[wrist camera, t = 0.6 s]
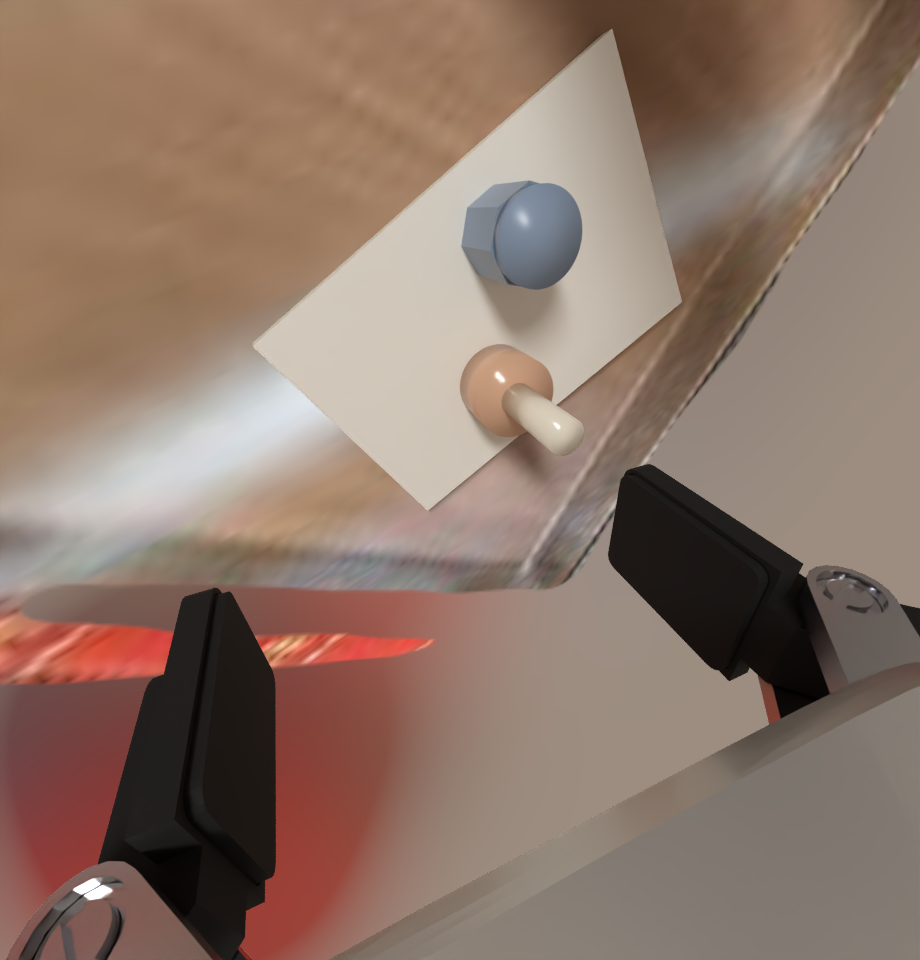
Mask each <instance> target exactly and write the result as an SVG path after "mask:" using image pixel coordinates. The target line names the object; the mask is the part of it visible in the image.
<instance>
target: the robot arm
mask: <svg viewBox="0 0 920 960" xmlns="http://www.w3.org/2000/svg"><path fill="white" fill-rule="evenodd" d="M608 557H609V561H610V563H611V565H612V566H613V567H614V569H615V570H616V571H617V572H618V573H619V574H620V575H621V576H622V577H623V578H624V579H625V580H626V581H627V582H628V583H629V584H630V585H631V586H632V587H633V588H634V589H635V590H636V591H637V592H638V593H639V594H640V595H641V596H642V598H643V599H644V600H645V601H646V602H647V603H648V604H649V605H650V606H651V607H652V608H653V609H654V610H655V611H656V612H657V613H658V614H659V615H660V616H661V617H662V618H663V619H664V620H665V621H666V622H667V623H668V624H669V625H670V627H671V628H673V630H674V631H675V632H676V633H677V634H678V635H679V636H680V637H681V638H682V639H683V640H684V641H685V642H686V643H687V644H688V645H689V646H690V647H691V648H692V649H693V650H694V651H695V652H696V653H697V654H698V655H699V657H701V659H702V660H703V661H704V662H705V663H706V664H707V665H708V666H710V667H711V668H713V669H715V670H719V671H720V672H721V673H722V674H723V675H724V676H725V677H726V678H727V680H729V681H730V680H732V679H734V678H737V677H739V676H741V675H743V674H745V673H747V672H748V670H749V668H751V669H752V670H753V671H754V672H755V673H757V674H758V678H759V682H760V686H761V691H762V694H763V700H764V704H765V708H766V713H767V717H768V721H769V725H768V726H766V727H764V728H762V729H760V730H758V731H756V732H755V733H753V734H751V735H749V736H747V737H745V738H743V739H741V740H739V741H738V742H735V743H734V744H731V745H730V746H728V747H726V748H724V749H722V750H720V751H718V752H716V753H714V754H712V755H710V756H708V757H706V758H704V759H703V760H701V761H699V762H697V763H695V764H693V765H691V766H689V767H687V768H685V769H684V770H682V771H680V772H678V773H676V774H674V775H672V776H670V777H668V778H666V779H664V780H663V781H661V782H659V783H657V784H655V785H653V786H652V787H649V788H647V789H645V790H644V791H642V792H640V793H638V794H636V795H634V796H632V797H630V798H628V799H627V800H625V801H623V802H621V803H619V804H617V805H615V806H613V807H611V808H609V809H607V810H605V811H604V812H602V813H600V814H598V815H596V816H594V817H592V818H590V819H588V820H587V821H585V822H583V823H581V824H579V825H577V826H575V827H573V828H571V829H569V830H567V831H566V832H564V833H562V834H560V835H558V836H556V837H554V838H552V839H551V840H549V841H547V842H545V843H543V844H541V845H539V846H537V847H536V848H534V849H532V850H530V851H528V852H526V853H524V854H523V855H520V856H519V857H517V858H515V859H513V860H511V861H509V862H507V863H506V864H504V865H502V866H500V867H498V868H496V869H494V870H492V871H491V872H489V873H487V874H485V875H483V876H481V877H479V878H477V879H475V880H473V881H472V882H470V883H468V884H466V885H464V886H462V887H460V888H459V889H457V890H455V891H453V892H451V893H449V894H447V895H446V896H443V897H442V898H440V899H438V900H436V901H434V902H432V903H430V904H428V905H427V906H425V907H423V908H421V909H419V910H418V911H416V912H414V913H413V914H410V915H409V916H407V917H405V918H403V919H402V920H400V921H398V922H396V923H394V924H393V925H391V926H389V927H387V928H385V929H384V930H382V931H380V932H379V933H376V934H375V935H373V936H371V937H369V938H367V939H366V940H364V941H362V942H360V943H358V944H357V945H355V946H353V947H351V948H349V949H348V950H346V951H344V952H342V953H340V954H338V955H337V956H335V957H333V958H332V959H329V960H920V608H915V607H910V606H906V605H902V604H899V603H898V601H897V599H896V598H895V597H894V596H893V595H892V593H891V592H890V591H889V590H888V589H887V588H885V587H884V586H883V585H882V584H880V583H879V582H877V581H876V580H874V579H872V578H870V577H868V576H866V575H864V574H862V573H859V572H857V571H854V570H851V569H847V568H843V567H839V566H828V565H825V566H819V567H815V568H813V569H812V570H810V571H809V573H808V575H807V577H806V578H805V577H804V576H802V575H801V574H799V571H800V569H801V567H802V566H803V563H801V562H800V561H798V560H797V559H795V558H793V557H792V556H791V555H789V554H787V553H786V552H784V551H783V550H781V549H780V548H778V547H777V546H775V545H774V544H772V543H771V542H769V541H768V540H766V539H765V538H763V537H762V536H760V535H758V534H757V533H756V532H754V531H752V530H751V529H749V528H748V527H746V526H745V525H743V524H742V523H740V522H739V521H737V520H736V519H734V518H732V517H731V516H730V515H728V514H726V513H725V512H723V511H722V510H720V509H719V508H717V507H716V506H714V505H713V504H711V503H710V502H708V501H707V500H705V499H704V498H702V497H701V496H699V495H698V494H696V493H695V492H693V491H692V490H690V489H688V488H687V487H685V486H684V485H682V484H681V483H679V482H678V481H676V480H675V479H673V478H672V477H670V476H669V475H667V474H665V473H664V472H663V471H661V470H660V469H658V468H656V467H655V466H653V465H650V464H647V465H643V466H640V467H636V468H633V469H629V470H627V471H626V473H625V475H624V477H623V478H622V479H621V481H620V486H619V492H618V498H617V504H616V510H615V516H614V522H613V529H612V534H611V540H610V546H609V552H608ZM275 761H276V760H275V679H274V674H273V671H272V669H271V667H270V665H269V663H268V661H267V659H266V657H265V655H264V653H263V651H262V650H261V648H260V646H259V644H258V642H257V640H256V638H255V636H254V634H253V632H252V631H251V629H250V627H249V625H248V623H247V621H246V619H245V617H244V615H243V613H242V612H241V610H240V608H239V606H238V604H237V602H236V600H235V598H234V596H233V595H232V593H231V592H226V593H221V591H220V590H219V589H218V588H213V589H209V590H206V591H203V592H199V593H195V594H192V595H189V596H185V597H184V598H183V600H182V602H181V606H180V610H179V614H178V618H177V622H176V627H175V631H174V635H173V639H172V643H171V647H170V651H169V655H168V660H167V664H166V668H165V672H164V675H161V676H158V677H155V678H153V679H152V680H151V681H150V682H149V684H148V686H147V688H146V691H145V693H144V697H143V700H142V704H141V708H140V711H139V715H138V719H137V722H136V726H135V730H134V734H133V737H132V741H131V744H130V748H129V752H128V755H127V759H126V762H125V766H124V770H123V773H122V777H121V781H120V785H119V788H118V792H117V796H116V799H115V803H114V807H113V810H112V814H111V817H110V821H109V825H108V829H107V832H106V836H105V840H104V843H103V847H102V850H101V854H100V858H99V862H98V865H95V866H92V867H89V868H88V869H86V870H84V871H83V872H81V873H79V874H78V875H76V876H75V877H73V878H71V879H70V880H68V881H67V882H66V883H65V884H64V885H63V886H61V887H60V888H59V889H58V890H57V891H56V892H55V893H54V894H52V896H50V897H49V898H48V899H47V900H46V901H45V902H44V903H43V905H42V906H41V907H40V908H39V909H38V911H37V912H36V913H35V914H34V915H33V916H32V918H31V919H30V920H29V921H28V922H27V924H26V925H25V927H24V929H23V930H22V932H21V933H20V935H19V937H18V938H17V940H16V941H15V943H14V944H13V946H12V948H11V949H10V951H9V953H8V956H7V958H6V960H252V959H251V958H250V956H249V955H248V954H247V953H246V952H245V951H244V950H243V949H242V948H241V947H240V944H241V943H242V941H243V939H244V938H245V920H246V919H245V918H246V910H248V909H250V908H252V907H255V906H257V905H259V904H261V903H263V902H265V880H267V879H269V878H271V877H272V876H273V875H274V872H275V863H276V825H275V824H276V811H275V810H276V805H275V804H276V794H275V793H276V788H275V786H276V785H275V784H276V778H275V777H276V776H275V775H276V774H275V771H276V769H275V768H276V767H275V766H276V763H275Z"/></svg>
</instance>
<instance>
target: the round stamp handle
mask: <svg viewBox="0 0 920 960" xmlns="http://www.w3.org/2000/svg"><path fill="white" fill-rule="evenodd" d="M460 394H461V398H462V401H463V403H464V405H465V406H466V408H467V409H468V410H469V411H470V412H471V413H472V414H473V415H474V416H475V417H476V418H477V419H478V420H479V421H480V422H481V423H482V424H483V425H484V426H485V427H486V428H487V429H488V430H489V431H490V432H492V433H493V434H495V435H498V436H501V437H515V436H519V435H522V434H524V433H526V432H529V433H530V434H531V435H532V436H533V437H535V438H536V439H537V440H538V441H539V442H540V443H542V444H543V445H544V446H545V447H546V448H547V449H548V450H550V451H551V452H552V453H553V454H555V455H557V456H564V455H568V454H570V453H571V452H573V451H574V450H575V449H576V448H577V447H578V446H579V445H580V443H581V441H582V439H583V436H584V427H583V425H582V423H581V422H580V421H578V420H577V419H576V418H574V417H573V416H571V415H570V414H568V413H567V412H565V411H564V410H562V409H561V408H560V407H558V406H557V405H555V404H554V403H552V397H553V381H552V377H551V375H550V372H549V371H548V369H547V368H546V367H545V366H544V365H543V364H542V363H541V362H539V361H537V360H535V359H534V358H532V357H530V356H528V355H527V354H525V353H523V352H521V351H519V350H518V349H516V348H514V347H512V346H509V345H505V344H495V345H491V346H488V347H485V348H484V349H482V350H480V351H479V352H477V353H476V354H475V355H474V356H473V357H472V358H471V359H470V360H469V362H468V363H467V365H466V366H465V368H464V370H463V373H462V376H461V380H460Z"/></svg>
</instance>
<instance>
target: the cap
mask: <svg viewBox="0 0 920 960" xmlns="http://www.w3.org/2000/svg"><path fill="white" fill-rule="evenodd" d="M581 241H582V219H581V214H580V210H579V208H578V205H577V203H576V201H575V200H574V198H573V197H572V195H571V194H570V193H569V192H568V191H567V190H565V189H564V188H562V187H561V186H558V185H556V184H551V183H541V184H540V183H537V182H533V181H530V180H528V181H520V182H512V183H503V184H495V185H493V186H491V187H490V188H489V189H488V190H487V191H486V192H484V193H483V194H482V195H481V196H480V197H479V198H478V199H476V200H475V201H474V202H473V203H472V204H471V205H470V206H468V207H467V211H466V218H465V224H464V231H463V238H462V244H461V247H462V248H463V250H464V252H465V254H466V255H467V257H468V259H469V260H470V262H471V264H472V266H473V267H474V269H475V271H476V273H477V274H478V275H479V276H483V277H486V278H489V279H492V280H495V281H499V282H502V283H505V284H508V285H514V286H520V287H524V288H528V289H534V290H539V289H544V288H547V287H550V286H552V285H554V284H556V283H557V282H558V281H560V280H561V279H562V278H563V277H564V276H565V275H566V274H567V273H568V271H569V270H570V268H571V267H572V265H573V264H574V262H575V260H576V257H577V255H578V252H579V249H580V245H581Z"/></svg>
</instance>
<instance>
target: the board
mask: <svg viewBox="0 0 920 960" xmlns="http://www.w3.org/2000/svg"><path fill="white" fill-rule="evenodd" d="M528 180H530V181H533V182H537V183H540V184H541V183H551V184H556V185H558V186H561V187H562V188H564V189H565V190H567V191H568V192H569V193H570V194H571V195H572V197H573V198H574V200H575V201H576V203H577V205H578V208H579V210H580V214H581V219H582V241H581V245H580V249H579V252H578V255H577V257H576V260H575V262H574V264H573V265H572V267H571V268H570V270H569V271H568V273H567V274H566V275H565V276H564V277H563V278H562V279H561V280H560V281H558V282H557V283H556V284H554V285H552V286H550V287H547V288H544V289H539V290H534V289H528V288H524V287H520V286H514V285H508V284H505V283H502V282H499V281H495V280H492V279H489V278H486V277H483V276H479V275H478V274H477V273H476V271H475V269H474V267H473V266H472V264H471V262H470V260H469V259H468V257H467V255H466V254H465V252H464V250H463V248H462V247H461V244H462V238H463V231H464V224H465V218H466V211H467V207H468V206H470V205H471V204H472V203H473V202H474V201H475V200H476V199H478V198H479V197H480V196H481V195H482V194H483V193H484V192H486V191H487V190H488V189H489V188H490V187H491V186H493V185H495V184H503V183H512V182H520V181H528ZM681 302H682V300H681V296H680V292H679V288H678V284H677V280H676V276H675V272H674V269H673V265H672V261H671V257H670V253H669V249H668V245H667V241H666V237H665V233H664V229H663V225H662V221H661V218H660V214H659V210H658V206H657V202H656V198H655V194H654V190H653V186H652V182H651V178H650V174H649V170H648V167H647V163H646V159H645V155H644V151H643V147H642V143H641V139H640V135H639V131H638V127H637V123H636V120H635V116H634V112H633V108H632V104H631V100H630V96H629V92H628V88H627V84H626V80H625V76H624V72H623V69H622V65H621V61H620V57H619V53H618V49H617V45H616V41H615V37H614V33H613V29H611V30H609V31H607V32H605V33H603V34H602V35H601V36H600V37H598V38H597V39H596V40H595V41H594V42H593V43H592V44H590V45H589V46H588V47H587V48H586V49H585V50H584V51H583V52H581V53H580V54H579V55H578V56H577V57H576V58H575V59H573V60H572V61H571V62H570V63H569V64H568V65H567V66H566V67H564V68H563V69H562V70H561V71H560V72H559V73H558V74H557V75H555V76H554V77H553V78H552V79H551V80H550V81H549V82H547V83H546V84H545V85H544V86H543V87H542V88H541V89H540V90H538V91H537V92H536V93H535V94H534V95H533V96H532V97H530V98H529V99H528V100H527V101H526V102H525V103H524V104H523V105H521V106H520V107H519V108H518V109H517V110H516V111H515V112H513V113H512V114H511V115H510V116H509V117H508V118H507V119H506V120H504V121H503V122H502V123H501V124H500V125H499V126H498V127H496V128H495V129H494V130H493V131H492V132H491V133H490V134H489V135H487V136H486V137H485V138H484V139H483V140H482V141H481V142H480V143H478V144H477V145H476V146H475V147H474V148H473V149H472V150H470V151H469V152H468V153H467V154H466V155H465V156H464V157H463V158H461V159H460V160H459V161H458V162H457V163H456V164H455V165H453V166H452V167H451V168H450V169H449V170H448V171H447V172H446V173H444V174H443V175H442V176H441V177H440V178H439V179H438V180H436V181H435V182H434V183H433V184H432V185H431V186H430V187H429V188H427V189H426V190H425V191H424V192H423V193H422V194H421V195H420V196H418V197H417V198H416V199H415V200H414V201H413V202H412V203H410V204H409V205H408V206H407V207H406V208H405V209H404V210H403V211H401V212H400V213H399V214H398V215H397V216H396V217H395V218H393V219H392V220H391V221H390V222H389V223H388V224H387V225H386V226H384V227H383V228H382V229H381V230H380V231H379V232H378V233H376V234H375V235H374V236H373V237H372V238H371V239H370V240H369V241H367V242H366V243H365V244H364V245H363V246H362V247H361V248H359V249H358V250H357V251H356V252H355V253H354V254H353V255H352V256H350V257H349V258H348V259H347V260H346V261H345V262H344V263H343V264H341V265H340V266H339V267H338V268H337V269H336V270H335V271H333V272H332V273H331V274H330V275H329V276H328V277H327V278H326V279H324V280H323V281H322V282H321V283H320V284H319V285H318V286H316V287H315V288H314V289H313V290H312V291H311V292H310V293H309V294H307V295H306V296H305V297H304V298H303V299H302V300H301V301H299V302H298V303H297V304H296V305H295V306H294V307H293V308H292V309H290V310H289V311H288V312H287V313H286V314H285V315H284V316H283V317H281V318H280V319H279V320H278V321H277V322H276V323H275V324H273V325H272V326H271V327H270V328H269V329H268V330H267V331H266V332H264V333H263V334H262V335H261V336H260V337H259V338H258V339H256V340H255V341H254V342H253V347H254V348H255V349H256V350H257V351H258V352H259V353H260V354H261V355H263V356H264V357H265V358H266V359H267V360H268V361H269V362H270V363H271V364H272V365H273V366H274V367H275V368H276V369H277V370H278V371H280V372H281V373H282V374H283V375H284V376H285V377H286V378H287V379H288V380H289V381H290V382H291V383H292V384H293V385H294V386H296V387H297V388H298V389H299V390H300V391H301V392H302V393H303V394H304V395H305V396H306V397H307V398H308V399H309V400H310V401H311V402H313V403H314V404H315V405H316V406H317V407H318V408H319V409H320V410H321V411H322V412H323V413H324V414H325V415H326V416H327V417H328V418H330V419H331V420H332V421H333V422H334V423H335V424H336V425H337V426H338V427H339V428H340V429H341V430H342V431H343V432H344V433H346V434H347V435H348V436H349V437H350V438H351V439H352V440H353V441H354V442H355V443H356V444H357V445H358V446H359V447H360V448H361V449H363V450H364V451H365V452H366V453H367V454H368V455H369V456H370V457H371V458H372V459H373V460H374V461H375V462H376V463H377V464H379V465H380V466H381V467H382V468H383V469H384V470H385V471H386V472H387V473H388V474H389V475H390V476H391V477H392V478H393V479H394V480H396V481H397V482H398V483H399V484H400V485H401V486H402V487H403V488H404V489H405V490H406V491H407V492H408V493H409V494H410V495H411V496H413V497H414V498H415V499H416V500H417V501H418V502H419V503H420V504H421V505H422V506H423V507H424V508H425V509H426V510H427V511H428V510H429V509H430V508H432V507H433V506H434V505H435V504H436V503H438V502H439V501H440V500H441V499H443V498H444V497H445V496H446V495H447V494H449V493H450V492H451V491H452V490H453V489H455V488H456V487H457V486H458V485H460V484H461V483H462V482H463V481H464V480H466V479H467V478H468V477H469V476H471V475H472V474H473V473H474V472H475V471H477V470H478V469H479V468H480V467H482V466H483V465H484V464H485V463H486V462H488V461H489V460H490V459H491V458H492V457H494V456H495V455H496V454H497V453H499V452H500V451H501V450H502V449H503V448H505V447H506V446H507V445H508V444H510V443H511V442H512V441H513V440H514V439H516V438H517V437H518V436H515V437H501V436H498V435H495V434H493V433H492V432H490V431H489V430H488V429H487V428H486V427H485V426H484V425H483V424H482V423H481V422H480V421H479V420H478V419H477V418H476V417H475V416H474V415H473V414H472V413H471V412H470V411H469V410H468V409H467V408H466V406H465V405H464V403H463V401H462V398H461V394H460V380H461V376H462V373H463V370H464V368H465V366H466V365H467V363H468V362H469V360H470V359H471V358H472V357H473V356H474V355H475V354H476V353H477V352H479V351H480V350H482V349H484V348H485V347H488V346H491V345H495V344H505V345H509V346H512V347H514V348H516V349H518V350H519V351H521V352H523V353H525V354H527V355H528V356H530V357H532V358H534V359H535V360H537V361H539V362H541V363H542V364H543V365H544V366H545V367H546V368H547V369H548V371H549V372H550V375H551V377H552V381H553V397H552V403H554V404H555V405H557V404H558V403H560V402H561V401H562V400H563V399H564V398H566V397H567V396H568V395H569V394H570V393H572V392H573V391H574V390H575V389H577V388H578V387H579V386H580V385H581V384H583V383H584V382H585V381H586V380H588V379H589V378H590V377H591V376H592V375H594V374H595V373H596V372H597V371H599V370H600V369H601V368H602V367H603V366H605V365H606V364H607V363H608V362H609V361H611V360H612V359H613V358H614V357H616V356H617V355H618V354H619V353H620V352H622V351H623V350H624V349H625V348H627V347H628V346H629V345H630V344H631V343H633V342H634V341H635V340H636V339H638V338H639V337H640V336H641V335H642V334H644V333H645V332H646V331H647V330H649V329H650V328H651V327H652V326H653V325H655V324H656V323H657V322H658V321H659V320H661V319H662V318H663V317H664V316H666V315H667V314H668V313H669V312H670V311H672V310H673V309H674V308H675V307H677V306H678V305H679V304H680V303H681Z"/></svg>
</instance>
